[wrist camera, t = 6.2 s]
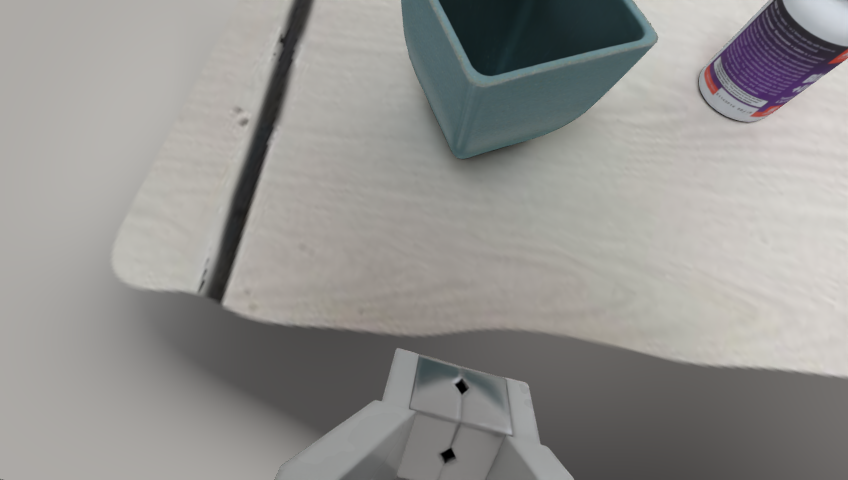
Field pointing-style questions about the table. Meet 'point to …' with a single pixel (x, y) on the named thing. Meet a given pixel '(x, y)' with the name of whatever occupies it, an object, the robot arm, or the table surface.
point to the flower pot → (518, 63)
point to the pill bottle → (776, 57)
